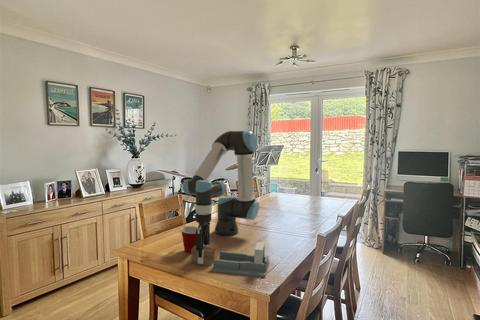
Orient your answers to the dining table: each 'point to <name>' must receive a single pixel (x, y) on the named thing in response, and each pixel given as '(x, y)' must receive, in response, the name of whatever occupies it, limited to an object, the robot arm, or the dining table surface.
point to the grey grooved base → (243, 262)
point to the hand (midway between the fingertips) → (202, 260)
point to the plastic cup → (189, 237)
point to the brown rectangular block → (208, 255)
